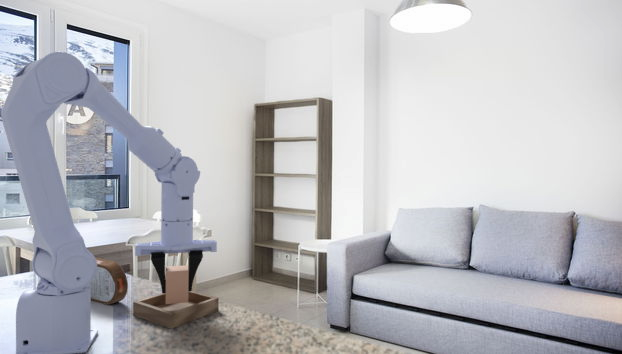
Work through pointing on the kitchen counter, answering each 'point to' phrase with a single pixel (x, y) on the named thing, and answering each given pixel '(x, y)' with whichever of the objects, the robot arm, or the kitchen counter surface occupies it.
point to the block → (177, 284)
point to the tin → (108, 282)
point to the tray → (175, 309)
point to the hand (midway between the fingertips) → (176, 290)
